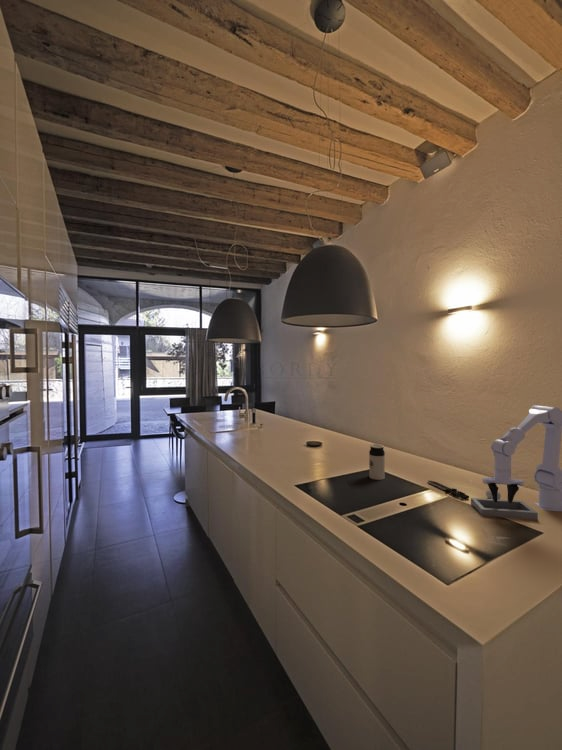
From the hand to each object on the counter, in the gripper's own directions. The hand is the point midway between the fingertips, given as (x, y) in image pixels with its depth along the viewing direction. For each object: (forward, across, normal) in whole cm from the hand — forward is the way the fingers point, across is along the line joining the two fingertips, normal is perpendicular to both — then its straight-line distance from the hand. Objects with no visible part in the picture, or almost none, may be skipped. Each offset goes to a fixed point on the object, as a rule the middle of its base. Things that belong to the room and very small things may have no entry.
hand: (502, 501), depth 139 cm
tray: (+4, 0, 0) cm, 4 cm away
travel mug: (+5, +47, -35) cm, 59 cm away
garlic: (+5, -2, -14) cm, 15 cm away
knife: (+7, +19, -18) cm, 27 cm away
